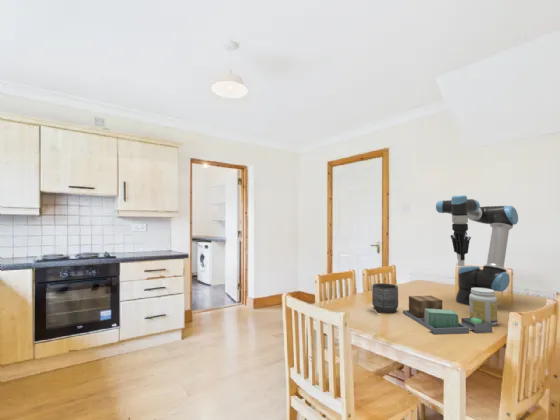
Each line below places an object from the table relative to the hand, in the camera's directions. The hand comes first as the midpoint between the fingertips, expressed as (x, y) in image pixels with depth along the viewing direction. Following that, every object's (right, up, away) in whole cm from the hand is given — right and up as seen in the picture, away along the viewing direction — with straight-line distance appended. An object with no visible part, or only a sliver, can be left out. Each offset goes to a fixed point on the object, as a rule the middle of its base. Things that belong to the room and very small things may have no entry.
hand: (461, 265), depth 168 cm
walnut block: (-22, -27, -5) cm, 35 cm away
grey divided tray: (-22, -27, -12) cm, 37 cm away
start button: (-5, -26, -20) cm, 33 cm away
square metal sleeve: (-5, -27, -20) cm, 34 cm away
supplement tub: (+5, -28, -10) cm, 30 cm away
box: (-21, -26, -19) cm, 39 cm away
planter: (-39, -28, +8) cm, 49 cm away
